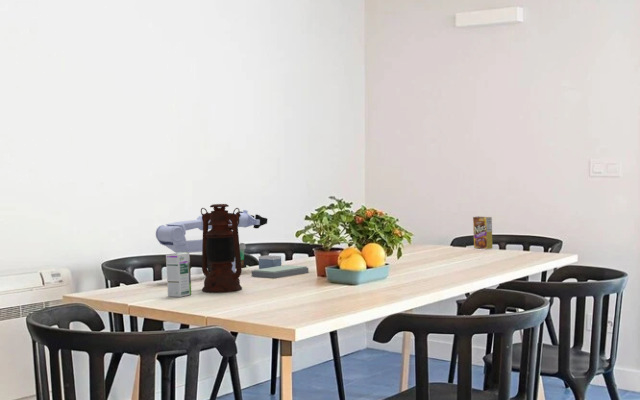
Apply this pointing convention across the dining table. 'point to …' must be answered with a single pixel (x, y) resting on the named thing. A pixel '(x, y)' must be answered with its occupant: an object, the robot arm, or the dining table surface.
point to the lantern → (221, 250)
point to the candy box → (482, 232)
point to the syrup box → (178, 274)
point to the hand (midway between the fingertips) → (260, 219)
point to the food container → (241, 254)
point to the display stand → (280, 271)
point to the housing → (269, 261)
